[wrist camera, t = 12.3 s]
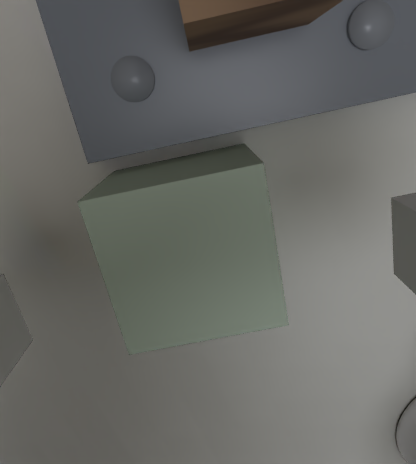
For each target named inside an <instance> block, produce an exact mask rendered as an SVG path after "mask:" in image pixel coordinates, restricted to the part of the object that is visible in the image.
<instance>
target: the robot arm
mask: <svg viewBox="0 0 416 464" xmlns="http://www.w3.org/2000/svg"><path fill="white" fill-rule="evenodd" d="M391 205H392V233H393V261H394V274H395V275H396V276H397V277H398V278H399V279H400V280H401V281H402V282H403V283H404V284H405V285H406V286H407V287H409V288H410V289H411V290H412V291H413V292H414V293H415V294H416V193H412V194H407V195H402V196H397V197H392V198H391ZM32 341H33V338H32V336H31V334H30V332H29V329H28V327H27V325H26V323H25V321H24V318H23V316H22V314H21V312H20V309H19V307H18V305H17V303H16V301H15V298H14V296H13V294H12V292H11V290H10V287H9V285H8V283H7V281H6V278H5V276H4V274H2V275H0V386H1V385H2V383H3V382H4V381H5V379H6V378H7V376H8V375H9V373H10V372H11V371H12V369H13V368H14V366H15V365H16V364H17V362H18V361H19V359H20V358H21V356H22V355H23V354H24V352H25V351H26V349H27V348H28V346H29V345H30V344H31V342H32Z"/></svg>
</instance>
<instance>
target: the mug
mask: <svg viewBox="0 0 416 464" xmlns="http://www.w3.org/2000/svg"><path fill="white" fill-rule="evenodd" d="M396 441H397V446H398V449H399V451H400V453H401V455H402V457H403V458H404V459H405V461H406V462H407V463H408V464H416V398H415V399H414V400H413V401H412V402H411V403H410V404H409V406H408V407H407V408H406V410H405V411H404V413H403V414H402V416H401V418H400V420H399V423H398V426H397V432H396Z"/></svg>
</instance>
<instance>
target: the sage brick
mask: <svg viewBox="0 0 416 464" xmlns="http://www.w3.org/2000/svg"><path fill="white" fill-rule="evenodd" d="M78 205H79V208H80V211H81V214H82V217H83V220H84V223H85V226H86V229H87V232H88V235H89V238H90V241H91V244H92V247H93V250H94V253H95V256H96V259H97V262H98V264H99V267H100V270H101V273H102V276H103V279H104V282H105V285H106V288H107V291H108V294H109V297H110V300H111V303H112V306H113V309H114V312H115V315H116V318H117V321H118V324H119V327H120V330H121V333H122V336H123V338H124V341H125V344H126V347H127V350H128V353H129V355H132V354H137V353H142V352H148V351H153V350H158V349H164V348H169V347H174V346H180V345H185V344H191V343H196V342H201V341H207V340H212V339H217V338H223V337H228V336H233V335H239V334H244V333H250V332H255V331H260V330H266V329H271V328H276V327H282V326H287V325H289V323H288V317H287V310H286V304H285V297H284V291H283V284H282V278H281V271H280V265H279V258H278V252H277V245H276V239H275V233H274V226H273V220H272V213H271V207H270V200H269V194H268V187H267V181H266V174H265V168H264V163H263V162H262V161H261V160H260V159H259V158H258V157H257V156H256V155H255V154H254V153H253V152H252V151H251V150H250V149H249V148H248V147H247V146H246V145H245V144H239V145H235V146H230V147H225V148H221V149H216V150H211V151H206V152H202V153H197V154H192V155H188V156H183V157H178V158H173V159H169V160H164V161H159V162H155V163H150V164H145V165H140V166H136V167H131V168H126V169H122V170H117V171H114V172H113V173H112V174H110V175H109V176H108V177H107V178H106V179H104V180H103V181H102V182H101V183H100V184H98V185H97V186H96V187H95V188H94V189H92V190H91V191H90V192H89V193H88V194H86V195H85V196H84V197H83V198H82V199H80V200H79V201H78Z"/></svg>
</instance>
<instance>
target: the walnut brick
mask: <svg viewBox="0 0 416 464" xmlns="http://www.w3.org/2000/svg"><path fill="white" fill-rule="evenodd" d="M342 1H343V0H179V5H180V10H181V15H182V19H183V24H184V29H185V33H186V38H187V42H188V47H189V51H194V50H199V49H203V48H208V47H212V46H216V45H221V44H225V43H229V42H234V41H238V40H243V39H247V38H251V37H256V36H260V35H264V34H269V33H273V32H277V31H282V30H286V29H291V28H295V27H299V26H304V25H308V24H310V23H311V22H313V21H314V20H316V19H317V18H318V17H320V16H321V15H323V14H324V13H326V12H327V11H329V10H330V9H331V8H333V7H334V6H336V5H337V4H339V3H340V2H342Z"/></svg>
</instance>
